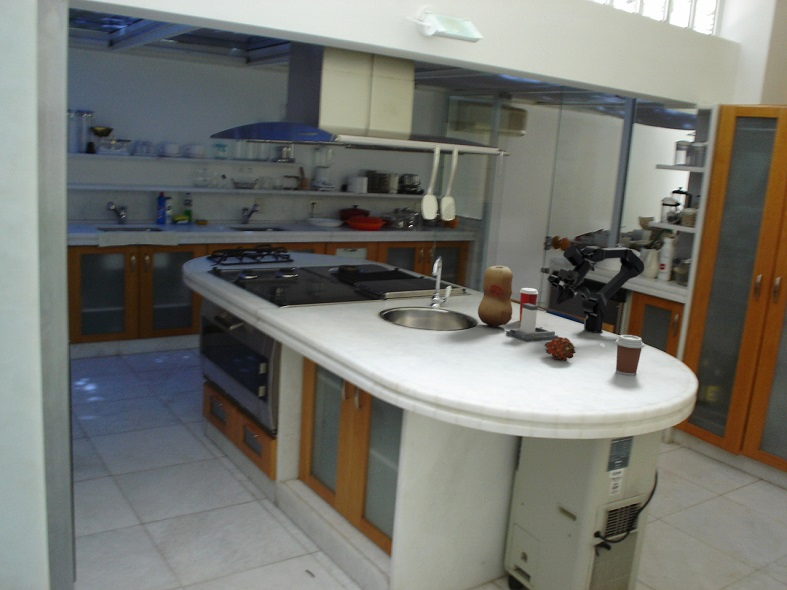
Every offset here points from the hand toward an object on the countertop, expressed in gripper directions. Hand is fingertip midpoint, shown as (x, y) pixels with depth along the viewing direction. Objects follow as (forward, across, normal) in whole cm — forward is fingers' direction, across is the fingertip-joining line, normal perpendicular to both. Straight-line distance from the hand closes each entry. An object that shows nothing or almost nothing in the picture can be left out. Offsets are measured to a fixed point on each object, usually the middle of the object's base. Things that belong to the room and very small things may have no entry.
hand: (556, 303), depth 287 cm
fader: (+18, 0, -5) cm, 18 cm away
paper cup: (+8, -19, +14) cm, 25 cm away
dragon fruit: (+25, +27, -16) cm, 40 cm away
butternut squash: (+20, -17, -2) cm, 27 cm away
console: (+17, +1, -2) cm, 17 cm away
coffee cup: (+17, +48, -11) cm, 53 cm away
